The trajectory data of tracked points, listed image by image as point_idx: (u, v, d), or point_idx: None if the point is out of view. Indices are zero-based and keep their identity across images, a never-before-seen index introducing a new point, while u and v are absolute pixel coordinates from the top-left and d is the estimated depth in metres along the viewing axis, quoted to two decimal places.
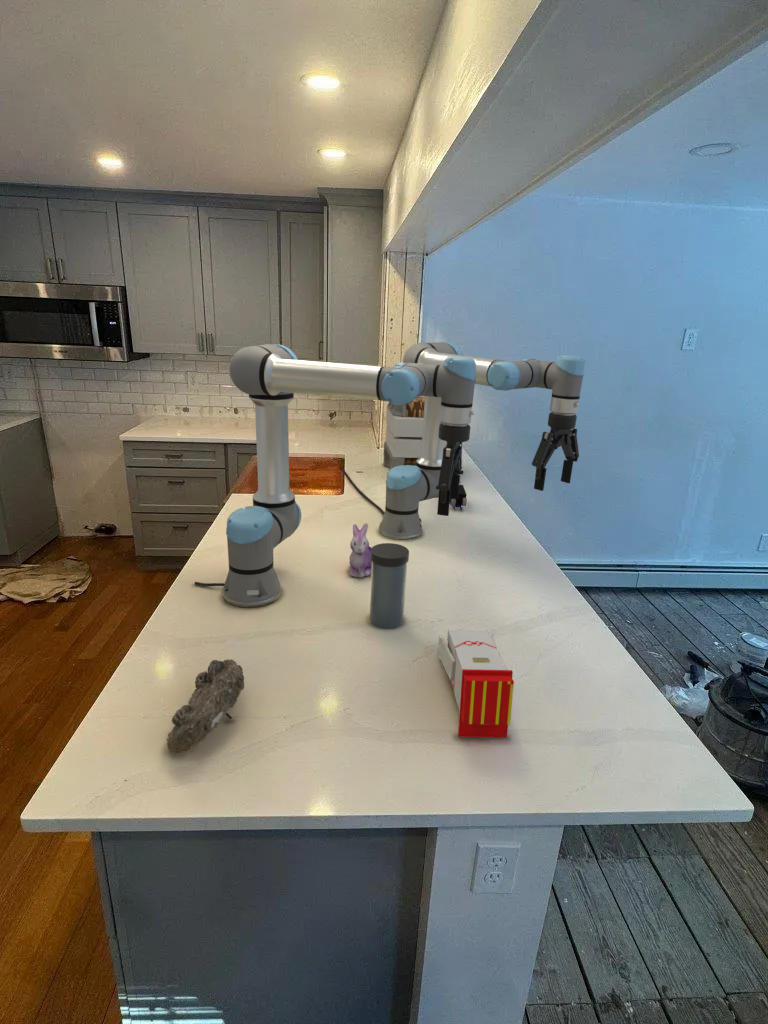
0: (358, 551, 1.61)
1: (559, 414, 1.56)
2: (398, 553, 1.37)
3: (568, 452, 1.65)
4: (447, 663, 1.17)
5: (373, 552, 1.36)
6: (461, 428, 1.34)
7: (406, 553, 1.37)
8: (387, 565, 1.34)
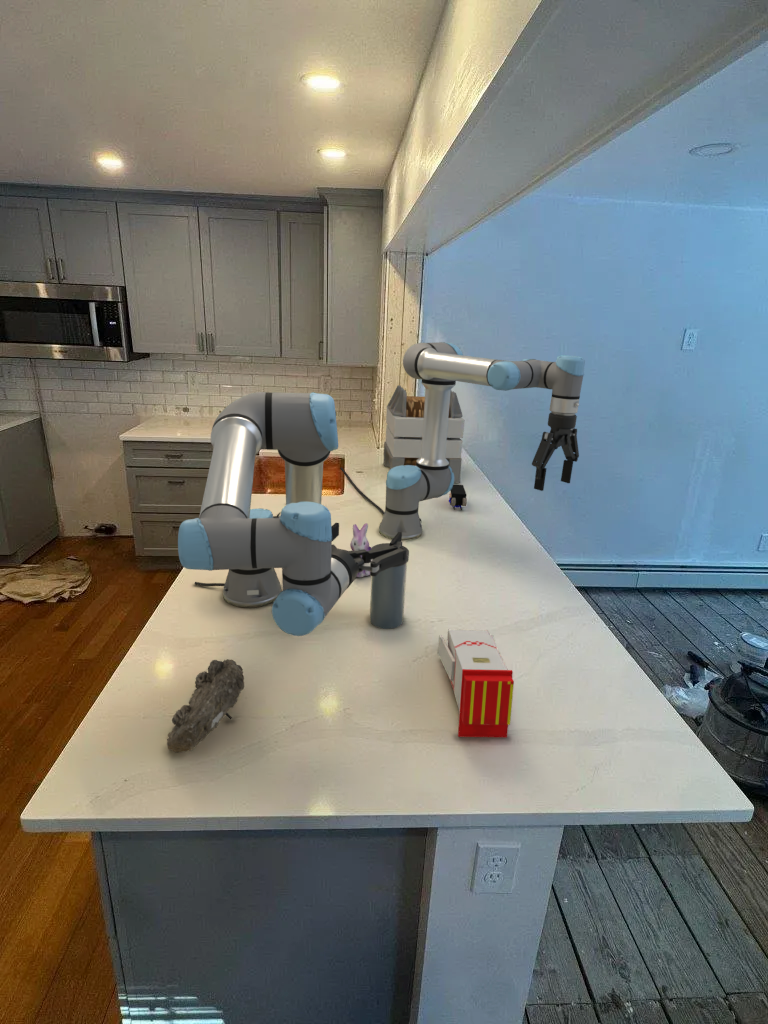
0: None
1: (559, 414, 1.56)
2: None
3: (568, 452, 1.65)
4: (447, 663, 1.17)
5: None
6: None
7: (406, 553, 1.37)
8: None
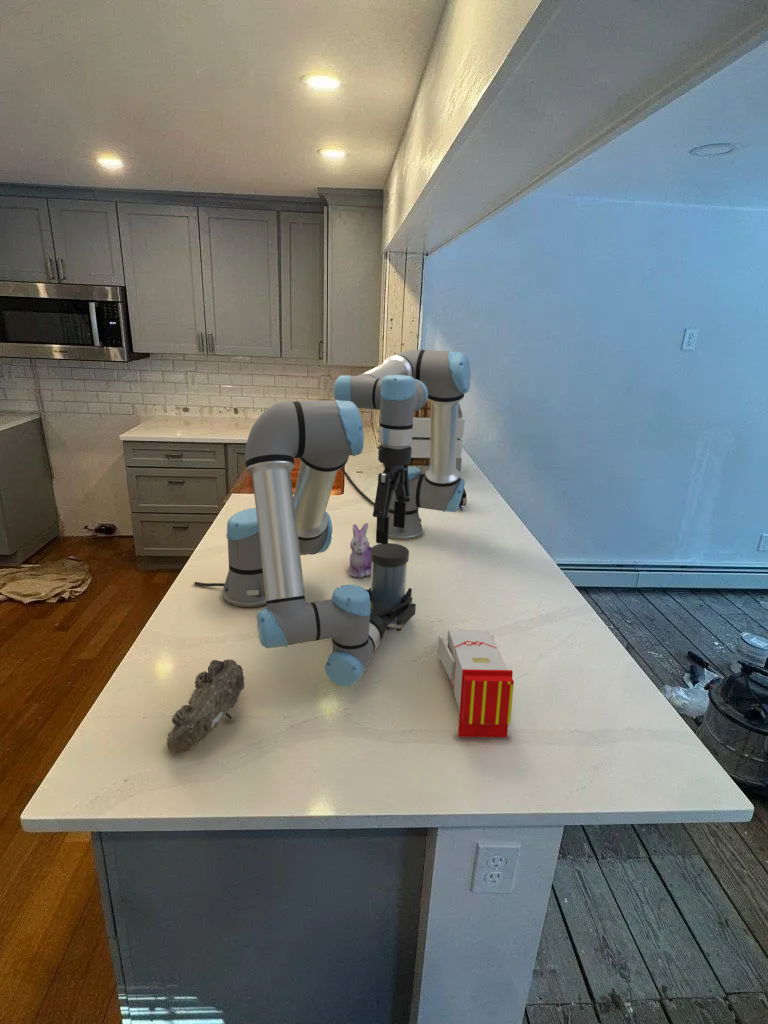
0: (358, 551, 1.61)
1: None
2: (398, 553, 1.37)
3: None
4: (447, 663, 1.17)
5: (373, 552, 1.36)
6: None
7: (406, 553, 1.37)
8: (387, 565, 1.34)
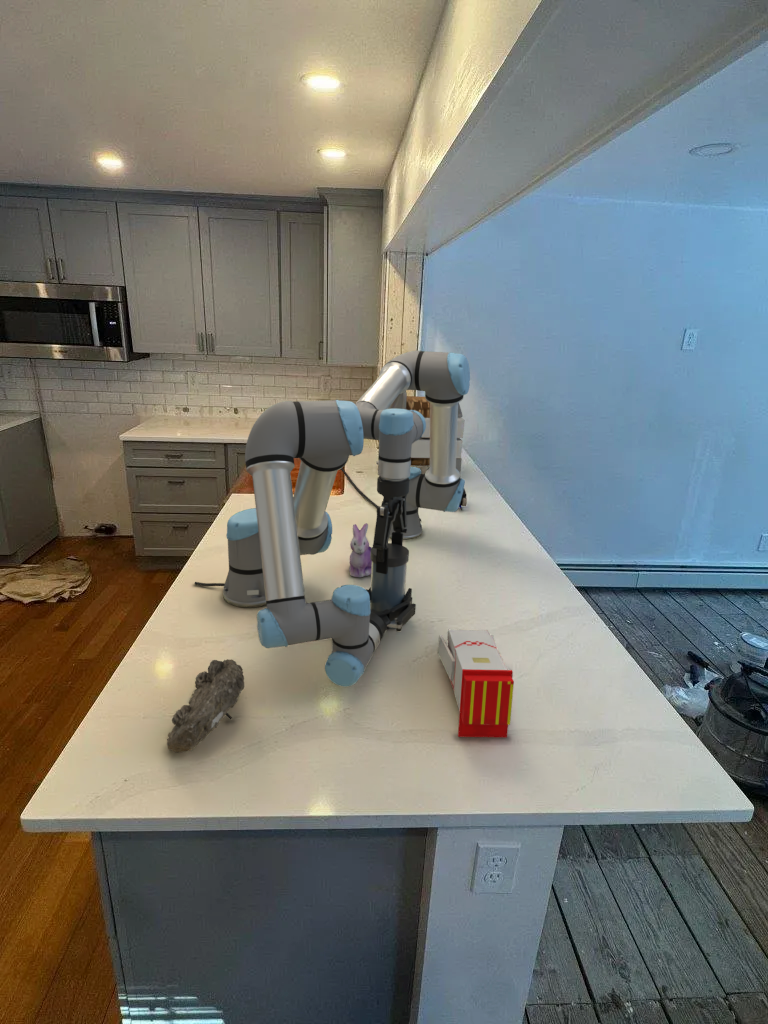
0: (358, 551, 1.61)
1: None
2: (398, 553, 1.37)
3: None
4: (447, 663, 1.17)
5: (373, 552, 1.36)
6: None
7: (406, 553, 1.37)
8: None
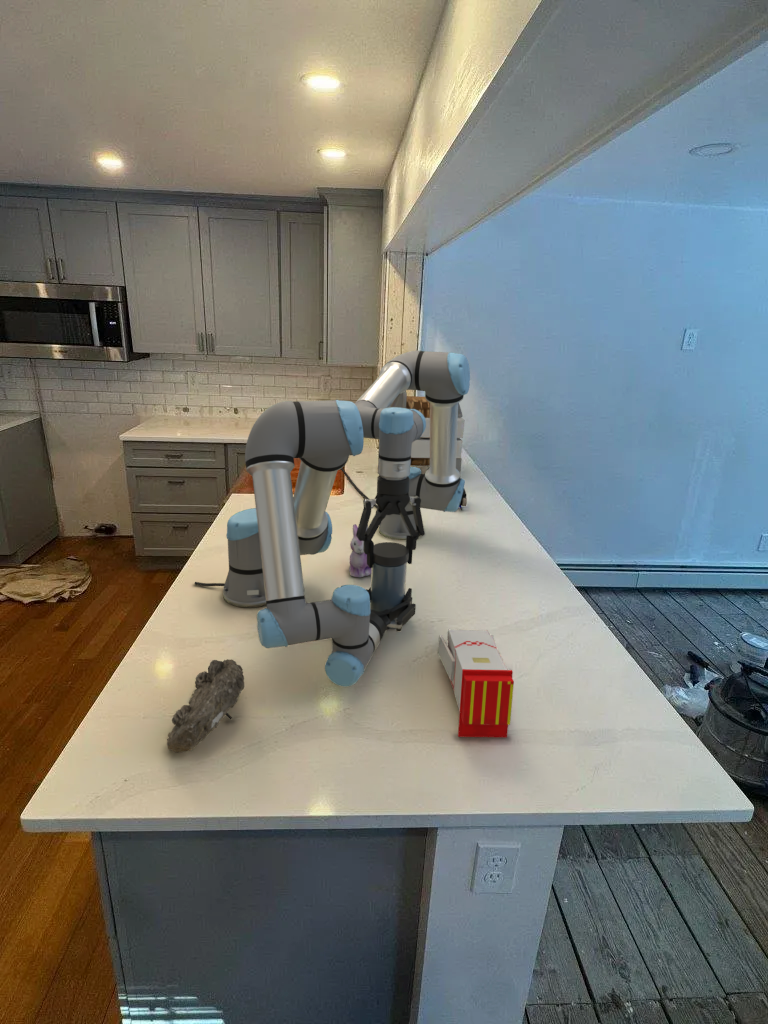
0: (358, 551, 1.61)
1: (382, 477, 1.30)
2: (389, 545, 1.40)
3: (406, 525, 1.36)
4: (447, 663, 1.17)
5: (405, 553, 1.36)
6: None
7: (383, 543, 1.42)
8: None
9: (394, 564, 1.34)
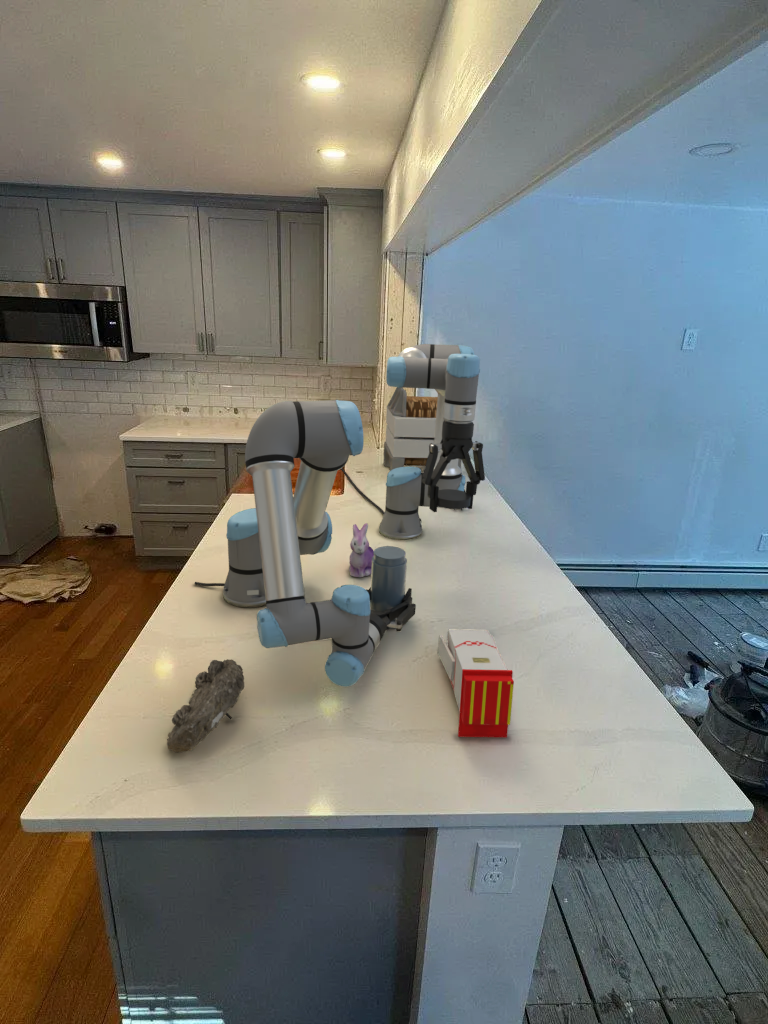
0: (358, 551, 1.61)
1: (448, 421, 1.34)
2: (449, 491, 1.45)
3: (468, 470, 1.41)
4: (447, 663, 1.17)
5: (468, 497, 1.41)
6: None
7: (443, 489, 1.46)
8: None
9: (458, 508, 1.39)
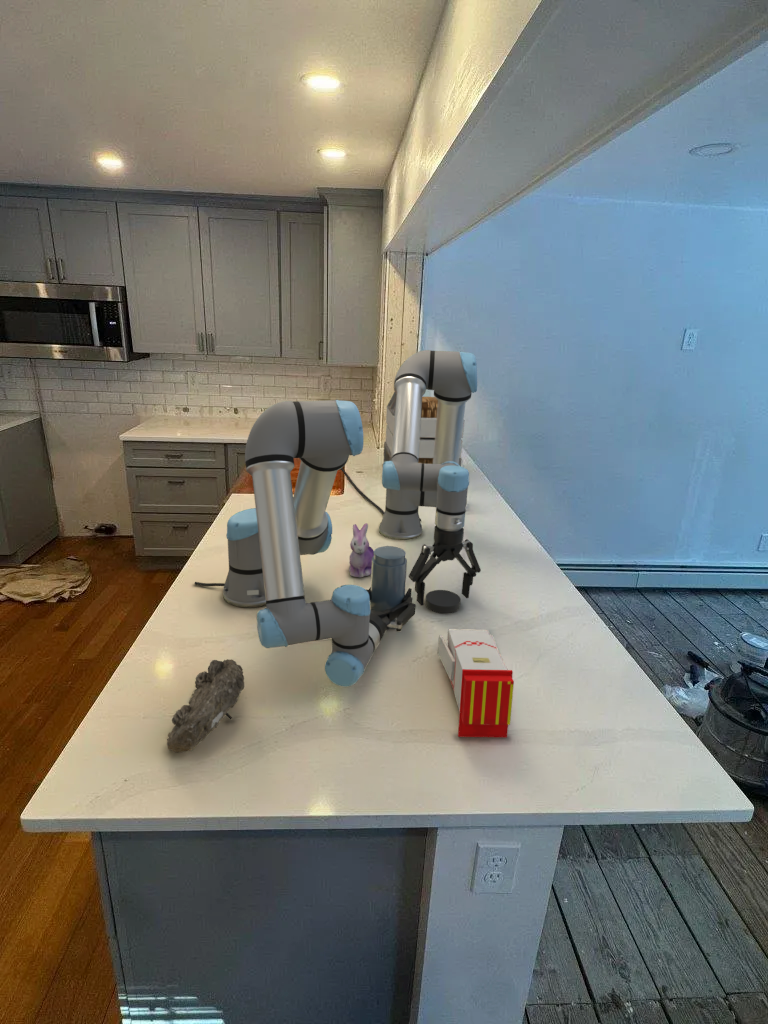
0: (358, 551, 1.61)
1: (440, 528, 1.44)
2: (441, 593, 1.55)
3: (463, 566, 1.51)
4: (447, 663, 1.17)
5: (458, 601, 1.51)
6: None
7: (435, 590, 1.56)
8: None
9: (449, 612, 1.49)
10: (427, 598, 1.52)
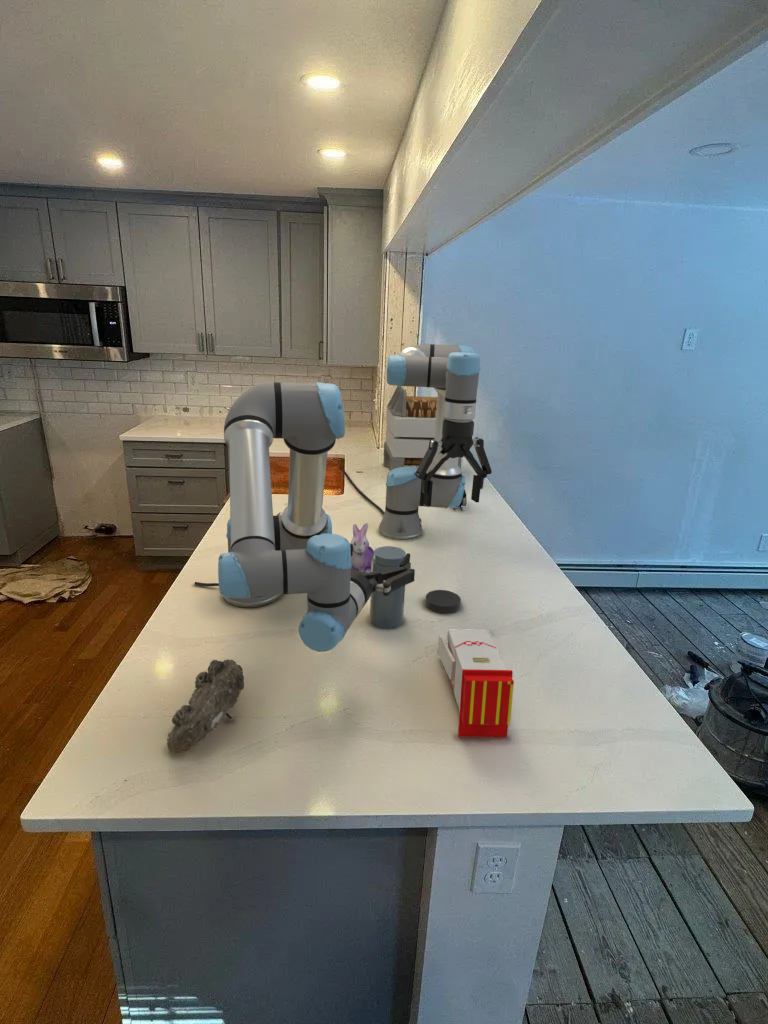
0: (358, 551, 1.61)
1: (449, 420, 1.34)
2: (441, 593, 1.55)
3: (473, 466, 1.41)
4: (447, 663, 1.17)
5: (458, 601, 1.51)
6: None
7: (435, 590, 1.56)
8: None
9: (449, 612, 1.49)
10: (427, 598, 1.52)
